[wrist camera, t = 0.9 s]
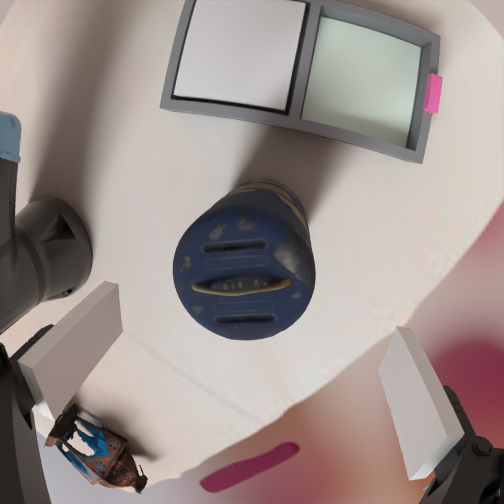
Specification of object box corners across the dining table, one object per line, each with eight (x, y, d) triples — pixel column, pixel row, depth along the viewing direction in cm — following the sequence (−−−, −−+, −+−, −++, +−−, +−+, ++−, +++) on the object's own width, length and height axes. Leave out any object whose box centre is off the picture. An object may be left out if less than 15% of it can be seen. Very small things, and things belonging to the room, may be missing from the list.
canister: (227, 172, 34) (161, 199, 17) (313, 185, 33) (334, 225, 16) (218, 253, 37) (160, 340, 20) (298, 266, 36) (299, 367, 19)
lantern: (78, 393, 61) (160, 453, 62) (47, 437, 53) (128, 496, 54) (63, 398, 47) (166, 473, 48) (27, 451, 39) (127, 522, 40)
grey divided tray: (173, 111, 32) (154, 106, 27) (200, -1, 27) (186, -19, 22) (409, 162, 30) (427, 165, 25) (427, 46, 25) (445, 33, 20)
